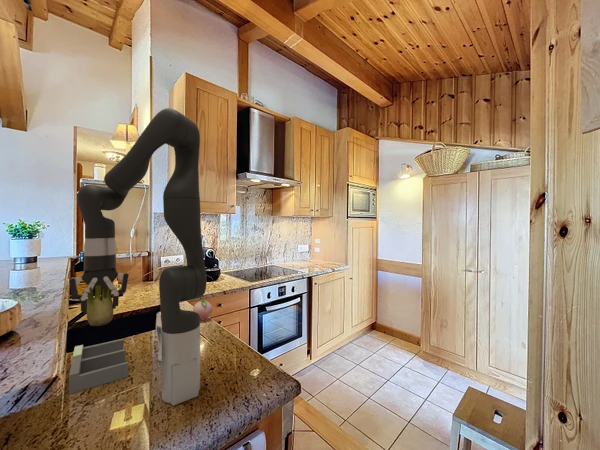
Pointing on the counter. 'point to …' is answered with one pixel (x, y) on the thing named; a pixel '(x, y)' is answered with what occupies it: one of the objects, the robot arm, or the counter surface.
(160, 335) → the beer glass
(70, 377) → the comb rack
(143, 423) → the counter surface
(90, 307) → the fennel bulb
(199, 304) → the decorative fruit
